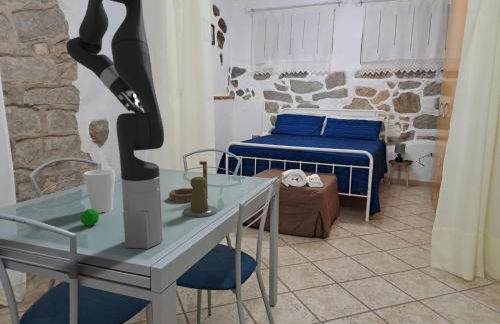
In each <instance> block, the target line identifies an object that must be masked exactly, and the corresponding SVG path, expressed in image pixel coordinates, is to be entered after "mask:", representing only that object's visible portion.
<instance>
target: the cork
mask: <svg viewBox="0 0 500 324" xmlns="http://www.w3.org/2000/svg"><path fill="white" fill-rule="evenodd" d="M189 184H190V187H191V188H192V197H191V202H190V207H191V208H190V211H191V212H193V213H203V212H207V211H208V210H209V208H208V205H209V203H208V199H207V196H206V190H205V186H206V184H207V185H208V180H207V181H206V179H205V178H204V177H203V176H194V177H192V178H191V179H190V183H189Z"/></svg>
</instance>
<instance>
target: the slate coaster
mask: <svg viewBox="0 0 500 324" xmlns="http://www.w3.org/2000/svg"><path fill="white" fill-rule="evenodd" d="M190 208H191V206H187V207H185V208H184V209H183V214H184V216H186V217H190V218H205V217H210V216H211V217H212V216H214V215H216V214H217V213H218V208H217V207H216V206H213V205H210V204H208V208H209V210H208V211H207V212H203V213H193V212H191V211H190ZM215 213H216V214H215Z"/></svg>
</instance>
